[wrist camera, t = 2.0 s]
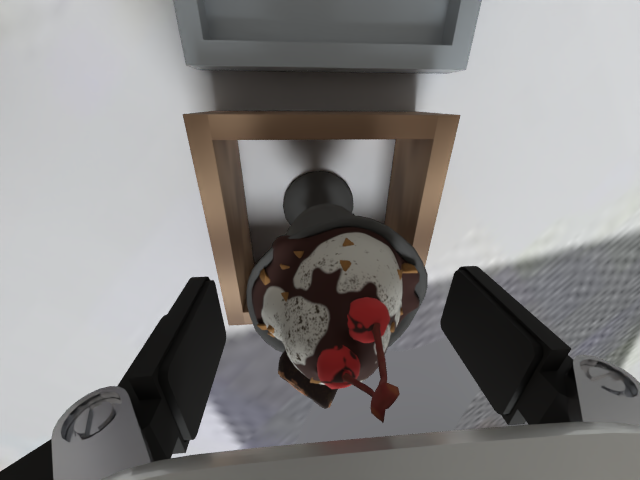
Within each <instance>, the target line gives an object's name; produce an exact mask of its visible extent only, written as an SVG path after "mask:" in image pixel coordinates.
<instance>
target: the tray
mask: <svg viewBox="0 0 640 480" xmlns="http://www.w3.org/2000/svg"><path fill="white" fill-rule="evenodd" d="M481 1H482V0H173V2H174V7H175V12H176V17H177V22H178V27H179V32H180V37H181V42H182V47H183V52H184V57H185V63H186V65H187V66H190V67H193V68H196V69H199V70H243V71H310V72H376V73H443V74H447V73H452V72H457V71H462V70H466V67H467V63H468V59H469V54H470V50H471V45H472V41H473V36H474V32H475V28H476V23H477V19H478V14H479V10H480V6H481Z"/></svg>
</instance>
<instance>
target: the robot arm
mask: <svg viewBox="0 0 640 480" xmlns="http://www.w3.org/2000/svg"><path fill="white" fill-rule="evenodd" d="M441 328H442V330H443V332H444V333H445V335H446V336H447V338H448V340H449V341H450V343H451V344H452V345H453V347H454V349H455V350H456V352H457V353H458V355H459V356H460V358H461V359H462V361H463V363H464V364H465V366H466V367H467V369H468V370H469V372H470V373H471V375H472V376H473V378H474V379H475V381H476V382H477V384H478V386H479V387H480V389H481V390H482V392H483V393H484V395H485V396H486V398H487V399H488V401H489V402H490V404H491V405H492V407H493V408H494V410H495V411H496V412H497V413H498V414H501V415H502V417H503V418H504V420H505V421H506V423H507V424H508V425H517V424H524V423H525V422H526V421H527V423H528V424H529V425H519V426H506V427H493V428H481V429H468V430H456V431H445V432H432V433H420V434H408V435H396V436H385V437H374V438H363V439H351V440H339V441H328V442H318V443H306V444H295V445H284V446H273V447H262V448H251V449H242V450H233V451H224V452H215V453H206V454H197V455H189V456H183V457H177V458H171V456H172V454H177V453H186V450H187V447H188V444H189V441H190V440H194V439H195V437H196V435H197V433H198V429H199V426H200V423H201V420H202V416H203V413H204V410H205V407H206V403H207V400H208V397H209V394H210V391H211V387H212V384H213V381H214V378H215V374H216V371H217V368H218V365H219V361H220V358H221V355H222V352H223V349H224V345H225V342H226V331H225V326H224V322H223V317H222V313H221V308H220V303H219V299H218V294H217V290H216V285H215V282H214V281H213V280H210V279H209V277H192V278H190V279H189V281H188V283H187V284H186V286H185V287H184V289H183V291H182V292H181V294H180V295H179V297H178V298H177V300H176V302H175V303H174V305H173V306H172V308H171V309H170V311H169V313H168V314H167V315H165V316H163V317H162V319H161V320H160V321H159V323H158V324H157V326H156V328H155V329H154V331H153V332H152V334H151V335H150V337H149V338H148V340H147V341H146V343H145V344H144V346H143V348H142V349H141V351H140V352H139V354H138V355H137V357H136V358H135V360H134V361H133V363H132V364H131V366H130V368H129V369H128V371H127V372H126V374H125V375H124V377H123V378H122V380H121V381H120V383H119V384H118V386H109V387H105V388H101V389H98V390H96V391H94V392H91V393H89V394H87V395H86V396H84V397H83V398H81V399H80V400H78V401H77V402H76V403H74V404H73V405H72V406H71V407H70V408H69V409H67V410H66V412H65V413H64V414H63V415H62V416H61V418H60V419H59V420H58V422H57V424H56V425H55V427H54V429H53V433H52V439H51V440H49V441H48V442H46V443H44V444H43V445H41V446H40V447H38V448H37V449H35V450H33V451H32V452H30V453H29V454H27V455H26V456H24V457H22V458H21V459H19V460H18V461H16V462H15V463H13V464H11V465H10V466H8V467H7V468H5V469H4V470H2V471H0V480H640V383H639V382H638V381H637V380H636V379H635V378H634V377H633V376H632V375H630V374H629V373H628V372H626V371H625V370H624V369H622V368H620V367H618V366H617V365H615V364H613V363H611V362H609V361H606V360H604V359H601V358H598V357H595V356H590V355H579V356H576V357H575V358H574V359H572V358H571V357H569V356H568V353H569V352H570V350H571V348H570V347H569V346H568V345H567V344H565V343H564V342H563V341H562V340H561V339H560V338H559V337H558V336H556V335H555V334H554V333H553V332H552V331H551V330H550V329H548V328H547V327H546V326H545V325H544V324H543V323H542V322H540V321H539V320H538V319H537V318H536V317H535V316H534V315H532V314H531V313H530V312H529V311H528V310H527V309H526V308H524V307H523V306H522V305H521V304H520V303H519V302H518V301H516V300H515V299H514V298H513V297H512V296H511V295H510V294H509V293H507V292H506V291H505V290H504V289H503V288H502V287H501V286H499V285H498V284H497V283H496V282H495V281H494V280H493V279H491V278H490V277H489V276H488V275H487V274H486V273H485V272H483V271H482V270H481V269H480V268H479V267H477V266H465V267H460V268H459V269H458V270H457V271H456V272H455V273H454V276H453V280H452V283H451V287H450V290H449V294H448V297H447V301H446V304H445V308H444V311H443V315H442V318H441Z"/></svg>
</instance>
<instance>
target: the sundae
mask: <svg viewBox="0 0 640 480" xmlns="http://www.w3.org/2000/svg"><path fill="white" fill-rule="evenodd" d="M283 208H284V213H285V216H286V219H287V221H288V222H289V224H290V225H291V226H290V228H289V230H288V232H287V234H286V235H284V236H280V237H278V238H276V239H275V241H274V242H273V244H272V248H271V249H270V250H269V251H268V252H267V253H266V254H265V255H264V256H263V257H262V258H261V259H260V260H259V261H258V263H257V264H256V265H255V266H254V268H253V269H252V271H251V274H250V276H249V279H248V283H247V290H246V296H247V307H248V311H249V315H250V318H251V321H252V323H253V325H254V327H255V330H256V332H257V333H258V334H259V335H260V336H261V337H262V339H263V340H264V341H265V342H266V343H267V344H269V345H270V346H271V347H273V348H274V349H275V350H277V351H280V352H283V354H282V355H281V357H280V360H279V368H278V374H279V375H280V377H281V378H283V379H284V380H286V381H287V382H288V383H290V384H291V385H292V386H293V387H294V388H295V389H297V390H298V391H299V392H301V393H302V394H304V395H305V396H307V397H309V398H311V399H312V400H313V401H314V402H315V403H317V404H318V405H319V406H321V407H322V408H325V409H326V408H328V407H330V405H331V403H332V401H333V399H334V397H335V394H336V392H337V390H338V389H339V388H345V387H348V386H351V385H354V386H356V387H357V388H359V389H361V390H362V391H364V392H366V393H367V394H369V395H370V396H371V397H372V401H371V413H372V414H373V415H374V416H375V417H376V418H378V419H379V420H381V421H382V422H384V415H385V409H388V408H389V407H390V406H391V405H392V404H393V403H394V401H395V400H396V399H397V397H398V396H399V390H398V387H396V386H394V385H391V384H389V383H387V371H386V362H385V356H384V355H385V353H386V350H387V348H388V347H390V346H391V345H392V344H393V343H394V342H395V341H396V340H397V339H398V338H399V337H400V336H401V335H402V334H403V333H404V331H405V330H406V329H407V328H408V326H409V325H410V323H411V321H412V320H413V318H414V316H415V314H416V313H417V311H418V309H419V307H420V305H421V303H422V301H423V299H424V297H425V294H426V290H427V272H426V269H425V267H424V264H423V261H422V260H421V258H420V256H419V255H418V253H417V251H416V250H415V248H414V247H413V246H412V245H411V244H410V243H408V242H407V241H406V240H405V239H404V238H403V237H402V236H401V235H399V234H398V233H397V232H395V231H394V230H393V229H391V228H390V227H389V226H387V225H384V224H382V223H380V222H378V221H375V220H373V219H371V218H366V217H361V216H355V215H354V214H352V210H353V198H352V193H351V191H350V189H349V187H348V186H347V184H346V183H345V182H344V181H343V180H342V179H340V178H339V177H337V176H336V175H334V174H331V173H327V172H321V171H319V172H311V173H307V174H305V175H303V176H301V177H299V178H298V179H297V180H295V181H294V182H293V183H292V184H291V186H290V187H289V188H288V190H287V192H286V194H285V198H284V204H283ZM378 367H379V372H380V378H381V380H380V382H379V385H378V387H377V389H376V391H375V392H374V391H373V390H372V389H371V388H369V387H368V386H367V385H365V384H363V383H361V382H362V381H364V380H365V379H367V378H368V377H369V376H370V375H372V374H373V373H374V371H375V370H376V369H377V368H378Z"/></svg>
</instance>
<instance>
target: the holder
mask: <svg viewBox="0 0 640 480" xmlns="http://www.w3.org/2000/svg"><path fill="white" fill-rule="evenodd" d="M183 118H184V123H185V127H186V132H187V136H188V141H189V145H190V150H191V155H192V159H193V164H194V168H195V173H196V177H197V182H198V187H199V191H200V196H201V200H202V205H203V209H204V214H205V219H206V223H207V228H208V232H209V237H210V241H211V246H212V251H213V255H214V260H215V264H216V269H217V273H218V278H219V283H220V287H221V292H222V296H223V301H224V305H225V310H226V315H227V319H228V324H229V325H246V324H253V323H252V321H251V318H250V315H249V311H248V307H247V296H246V290H247V283H248V279H249V276H250V274H251V271H252V269H253V268H254V259H253V252H252V245H251V237H250V230H249V222H248V215H247V208H246V200H245V193H244V186H243V178H242V171H241V163H240V156H239V149H238V141H237V140H325V139H396V142H395V149H394V157H393V164H392V172H391V179H390V186H389V194H388V201H387V209H386V216H385V224H384V225H387V226H389V227H390V228H391V229H393V230H394V231H395V232H397V233H398V234H399V235H401V236H402V237H403V238H404V239H405V240H406V241H407V242H408V243H410V244H411V245H412V246H413V247H414V248H415V250H416V251H417V253H418V255H419V256H420V258H421V260H422V261H423V264H424V267H425V264H426V260H427V255H428V251H429V247H430V242H431V238H432V234H433V230H434V225H435V221H436V217H437V213H438V208H439V204H440V200H441V196H442V191H443V187H444V183H445V178H446V174H447V170H448V166H449V161H450V157H451V153H452V149H453V144H454V140H455V136H456V132H457V127H458V123H459V119H460V115H452V114H439V113H427V112H394V111H209V112H200V113H190V114H183Z"/></svg>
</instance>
